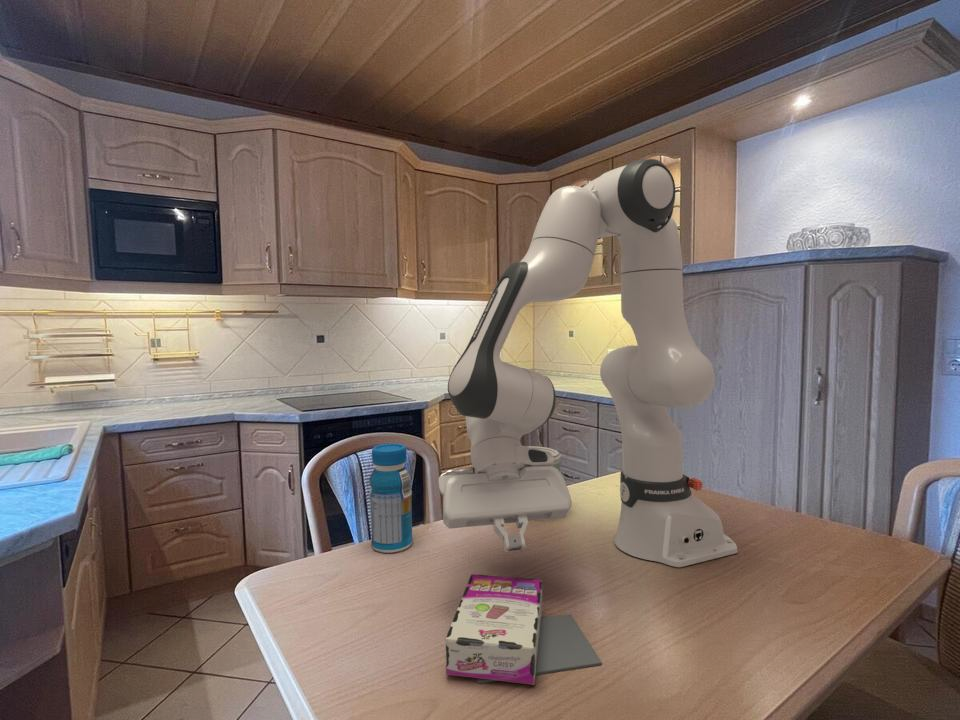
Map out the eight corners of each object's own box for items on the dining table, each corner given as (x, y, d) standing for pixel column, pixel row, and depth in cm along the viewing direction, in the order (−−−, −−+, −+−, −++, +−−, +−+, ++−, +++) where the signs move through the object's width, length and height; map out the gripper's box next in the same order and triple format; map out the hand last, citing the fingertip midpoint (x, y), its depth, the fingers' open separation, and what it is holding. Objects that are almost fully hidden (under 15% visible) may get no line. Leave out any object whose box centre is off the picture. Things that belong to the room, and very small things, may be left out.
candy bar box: (471, 604, 77) (443, 676, 61) (470, 572, 76) (442, 637, 60) (543, 611, 74) (534, 687, 58) (543, 578, 74) (534, 647, 58)
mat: (570, 615, 73) (570, 613, 73) (602, 664, 63) (602, 662, 63) (464, 629, 71) (464, 627, 70) (478, 683, 60) (478, 681, 60)
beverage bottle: (377, 558, 93) (373, 454, 92) (366, 541, 101) (362, 445, 100) (419, 548, 97) (416, 448, 96) (405, 533, 105) (402, 440, 104)
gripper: (437, 460, 77) (446, 548, 68) (561, 452, 81) (585, 534, 72) (435, 480, 82) (443, 564, 73) (553, 471, 86) (574, 550, 77)
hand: (515, 549), depth 73 cm, fingers closed
